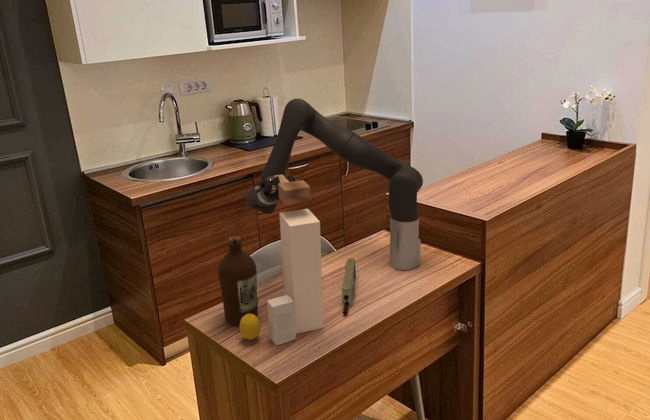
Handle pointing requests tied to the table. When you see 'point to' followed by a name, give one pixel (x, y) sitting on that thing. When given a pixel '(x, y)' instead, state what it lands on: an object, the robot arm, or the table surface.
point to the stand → (302, 267)
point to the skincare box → (281, 319)
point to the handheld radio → (348, 284)
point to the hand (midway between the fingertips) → (283, 178)
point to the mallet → (293, 191)
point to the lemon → (249, 326)
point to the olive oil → (238, 283)
